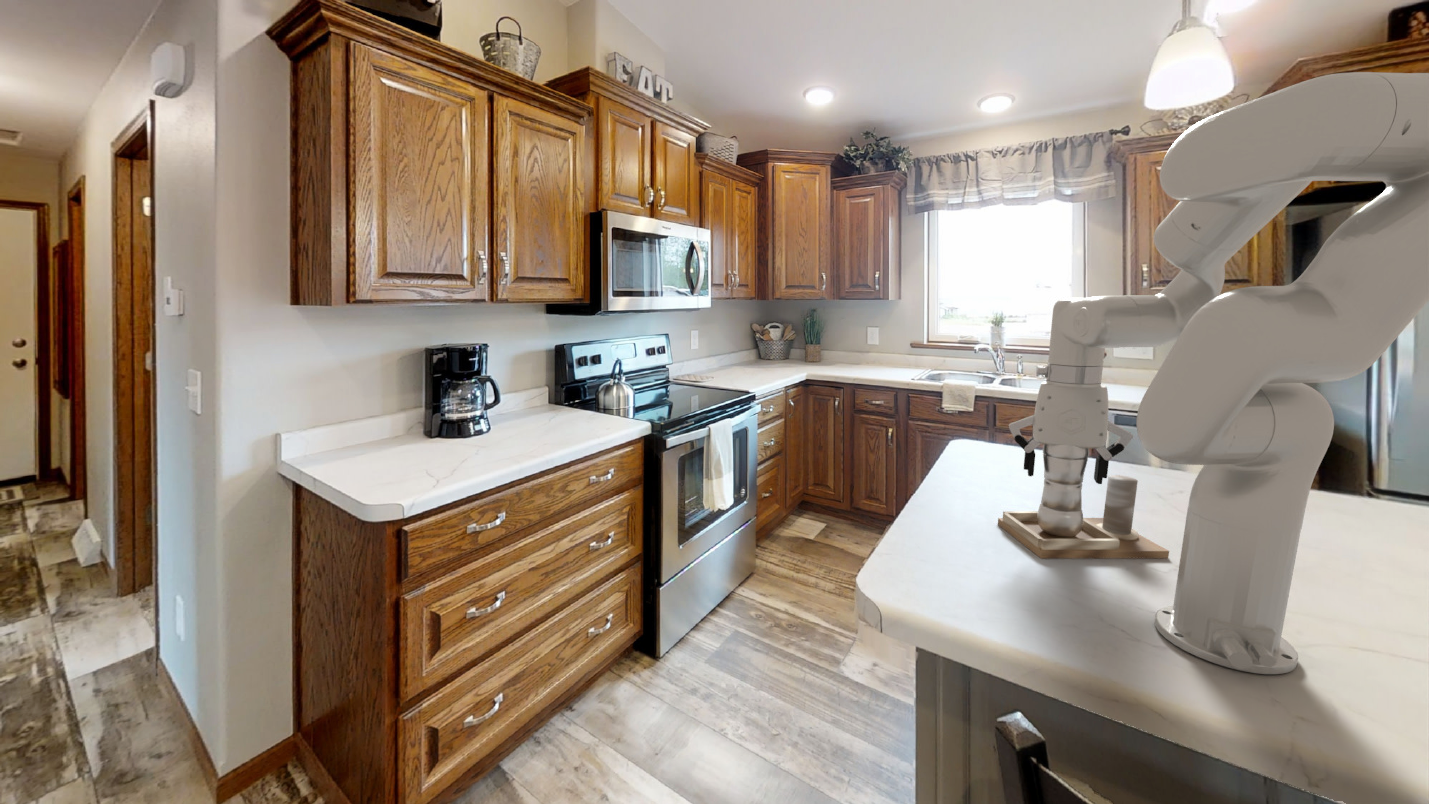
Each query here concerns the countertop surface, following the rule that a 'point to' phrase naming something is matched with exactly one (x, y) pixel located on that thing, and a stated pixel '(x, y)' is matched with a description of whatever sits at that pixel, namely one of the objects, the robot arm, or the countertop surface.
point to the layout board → (1089, 530)
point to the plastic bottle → (1062, 490)
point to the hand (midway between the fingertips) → (1063, 477)
